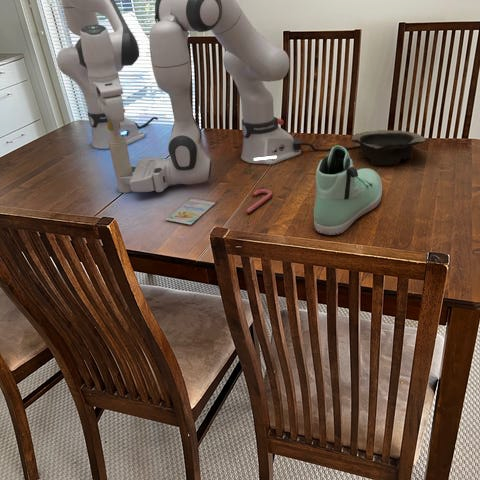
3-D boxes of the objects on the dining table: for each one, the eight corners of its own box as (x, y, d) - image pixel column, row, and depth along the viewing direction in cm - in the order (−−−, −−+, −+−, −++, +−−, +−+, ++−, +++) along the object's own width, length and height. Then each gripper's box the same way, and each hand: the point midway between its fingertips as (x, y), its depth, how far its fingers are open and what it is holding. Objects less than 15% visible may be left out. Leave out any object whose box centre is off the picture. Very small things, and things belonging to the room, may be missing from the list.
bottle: (119, 186, 164) (105, 122, 152) (136, 184, 164) (123, 120, 152) (117, 193, 159) (103, 127, 147) (134, 191, 159) (121, 125, 147)
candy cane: (232, 210, 143) (232, 206, 142) (259, 190, 153) (259, 186, 152) (249, 215, 140) (248, 210, 139) (276, 194, 150) (275, 190, 149)
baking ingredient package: (164, 218, 140) (191, 197, 151) (165, 220, 140) (191, 199, 151) (190, 223, 136) (215, 201, 148) (190, 225, 136) (216, 203, 148)
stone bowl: (384, 176, 155) (384, 148, 151) (336, 158, 175) (335, 133, 171) (440, 157, 164) (442, 130, 159) (388, 142, 184) (389, 118, 180)
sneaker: (389, 187, 148) (396, 123, 138) (356, 242, 123) (361, 168, 112) (346, 181, 154) (350, 119, 144) (306, 232, 129) (307, 161, 118)
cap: (114, 126, 153) (113, 119, 152) (123, 127, 151) (121, 120, 150) (105, 130, 150) (104, 122, 149) (114, 131, 148) (112, 124, 147)
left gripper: (88, 80, 150) (97, 123, 158) (101, 93, 134) (111, 140, 142) (107, 76, 153) (116, 119, 160) (123, 89, 137) (132, 136, 144)
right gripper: (165, 151, 165) (125, 154, 166) (157, 176, 148) (112, 178, 148) (168, 168, 169) (129, 171, 169) (160, 194, 151) (116, 197, 152)
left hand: (114, 129), depth 151 cm, fingers closed on cap, 3 cm apart
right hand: (121, 175), depth 159 cm, fingers closed on bottle, 5 cm apart
